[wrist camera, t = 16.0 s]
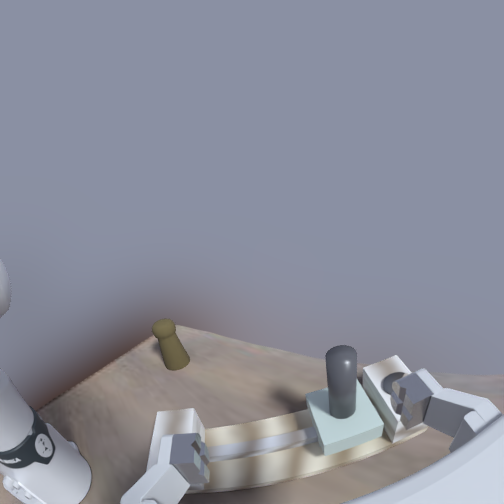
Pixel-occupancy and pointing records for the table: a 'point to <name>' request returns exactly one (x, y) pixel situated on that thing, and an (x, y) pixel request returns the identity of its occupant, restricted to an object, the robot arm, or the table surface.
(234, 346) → the table surface
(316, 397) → the carriage
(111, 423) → the table surface
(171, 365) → the olive brown pepper mill
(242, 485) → the rail track
